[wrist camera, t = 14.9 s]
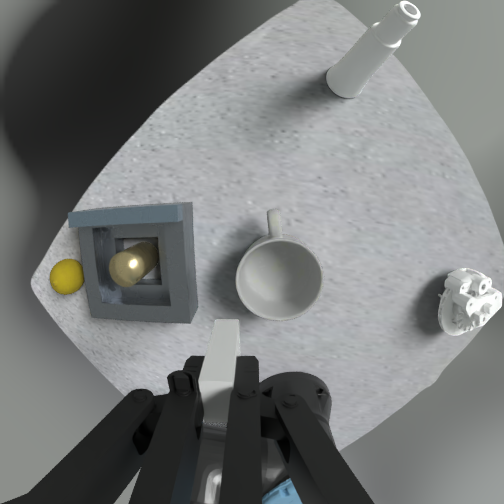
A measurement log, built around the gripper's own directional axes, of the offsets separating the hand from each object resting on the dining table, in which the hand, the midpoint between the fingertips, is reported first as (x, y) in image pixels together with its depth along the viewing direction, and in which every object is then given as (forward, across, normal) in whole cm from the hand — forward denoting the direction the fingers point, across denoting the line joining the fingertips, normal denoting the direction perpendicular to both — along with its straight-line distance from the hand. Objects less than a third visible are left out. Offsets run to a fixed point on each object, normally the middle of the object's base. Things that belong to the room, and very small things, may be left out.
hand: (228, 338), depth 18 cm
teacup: (+25, -5, 0) cm, 25 cm away
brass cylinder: (+24, +15, 0) cm, 29 cm away
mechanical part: (+25, -38, +8) cm, 46 cm away
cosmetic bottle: (+25, -16, -27) cm, 40 cm away
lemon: (+25, +28, +2) cm, 37 cm away
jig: (+24, +15, 0) cm, 29 cm away
